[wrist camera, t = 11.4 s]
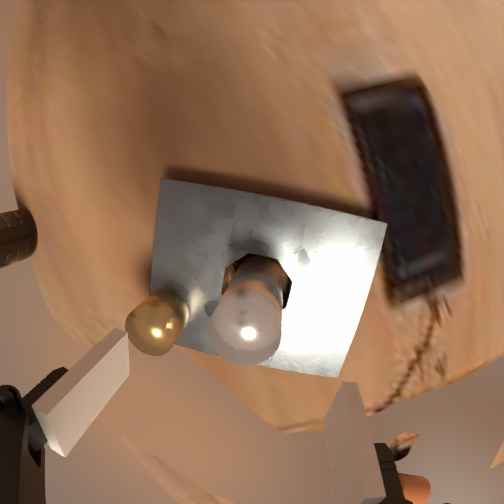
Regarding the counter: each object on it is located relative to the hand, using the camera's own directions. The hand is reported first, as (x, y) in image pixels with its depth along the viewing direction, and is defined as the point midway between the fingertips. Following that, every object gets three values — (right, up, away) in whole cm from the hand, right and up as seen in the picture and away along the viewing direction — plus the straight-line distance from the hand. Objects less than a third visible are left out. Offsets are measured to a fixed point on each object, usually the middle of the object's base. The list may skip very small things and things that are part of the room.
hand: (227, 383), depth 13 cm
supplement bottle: (-30, +9, +18) cm, 36 cm away
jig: (+2, +4, +15) cm, 16 cm away
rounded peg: (+2, +4, +15) cm, 16 cm away
